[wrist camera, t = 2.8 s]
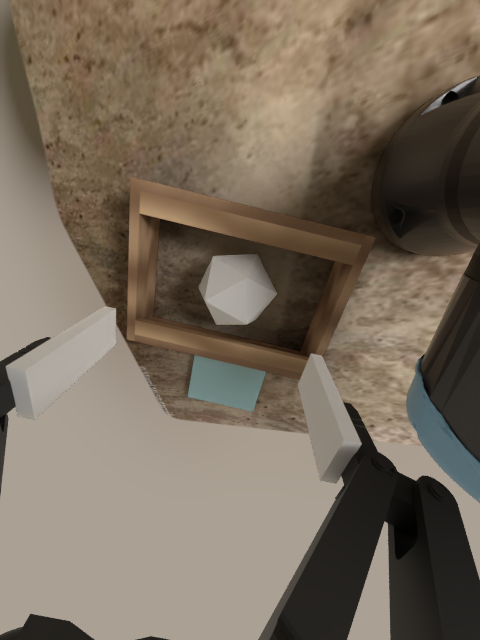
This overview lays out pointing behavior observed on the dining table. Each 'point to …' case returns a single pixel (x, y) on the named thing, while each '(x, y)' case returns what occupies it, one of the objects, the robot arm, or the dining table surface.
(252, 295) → the die
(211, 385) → the pad
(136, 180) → the wooden tray
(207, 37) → the dining table surface
